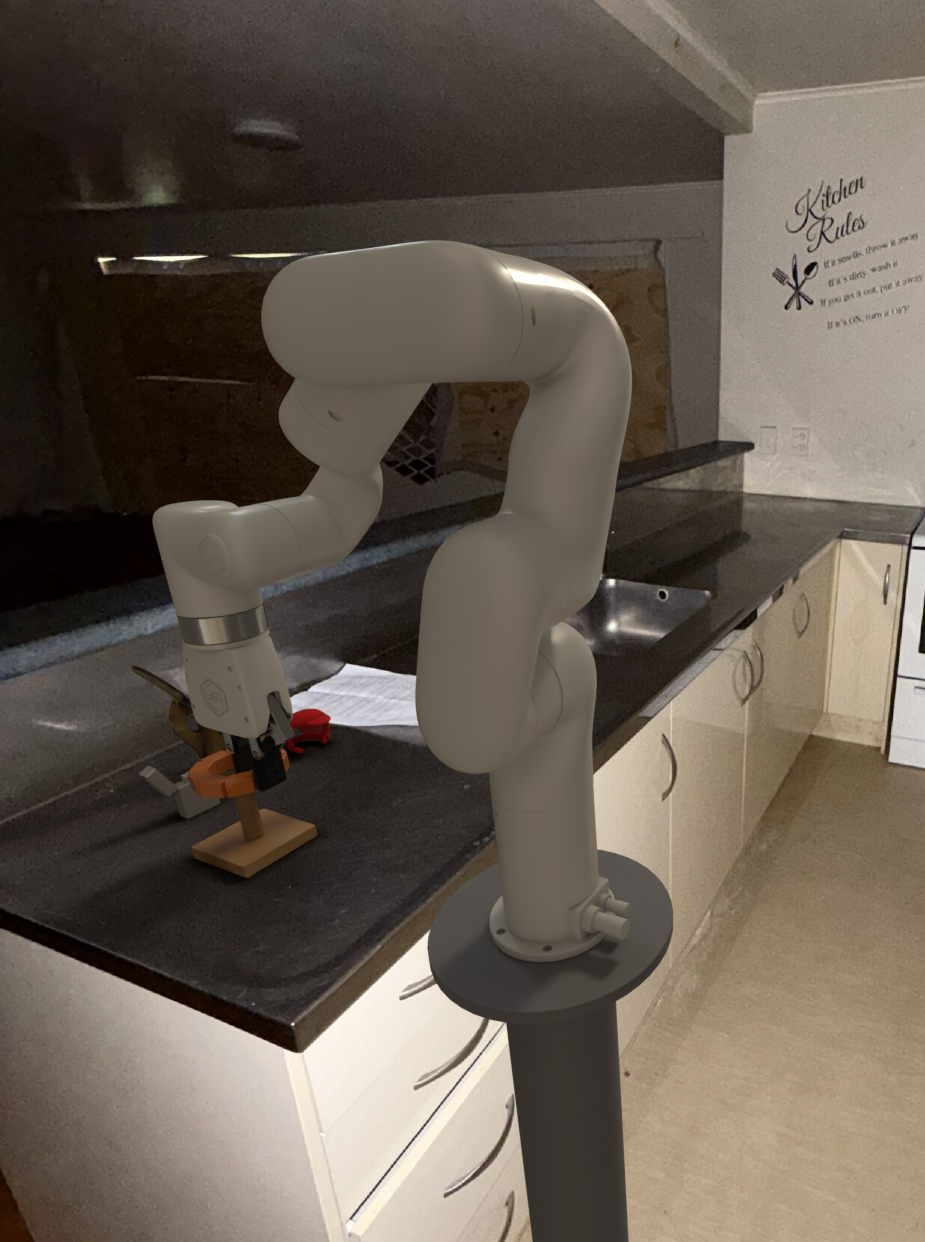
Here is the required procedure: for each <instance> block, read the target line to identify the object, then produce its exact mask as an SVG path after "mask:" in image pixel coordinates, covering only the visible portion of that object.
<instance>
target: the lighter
mask: <svg viewBox="0 0 925 1242" xmlns="http://www.w3.org/2000/svg"><path fill="white" fill-rule="evenodd" d="M188 772H189V771H187V772H185V773H183V774H181V775H180V778H181V780H180V781H178V782H175V783H173V782H172V781H171V780H169V778H167V776H165V775H164V774H163V773H162V772H160V770H158V769H157V768H155V767H153V766H151V765H147V766H145V767H144V769H142V770H141V771H140V772H139V773H138V776H140V777H141V778H142V780H144V781H146V783H148V784H149V785H150V786H151V787H153V788H154V789H155V790H156V791H158V792H159V793H160V794H161V795H163V796H166V797H167V798H170V797H171V796H172V795H173V794H174V799H175V802H176V805H177V808H178V812H179V816H180V817H182V818H184V819H191V818H194V817H195V816H197V815H199V814H201V813H203V812H206V811H207V810H210V809H212V808H214V807H216V806H219V805H220V804H221V800H220V799H221V798H207V797H202V796H198V795H197V794H196V793H195V792H194V791H193V790H192V788H191V785H190V782H189V778H188Z"/></svg>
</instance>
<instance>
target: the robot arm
mask: <svg viewBox="0 0 925 1242" xmlns="http://www.w3.org/2000/svg"><path fill="white" fill-rule="evenodd" d="M260 312H261V313H260V314H261V317H260V318H261V319H260V320H261V321H260V323H261V329H262V335H263V339H264V341H265V343H266V346H267V348H268V351H269V352H270V354H271V357H272V358H273V359H274V360H275V362H276V363H277V364H278V365H279V366H280V367H281V368H282V370H284V371H285V372H286V373H288V374H289V375H290V376H292V377H293V378H294V381H293V383H292V384H291V386H290V388H289V390H288V391H287V393H286V395H285V396H284V398H283V400H281V401H282V402H281V403H280V406H279V409H278V422H279V426H280V428H281V430H282V432H283V435H284V436H285V437H286V440H288V442H289V443H290V444H291V445H292V446H293V447H294V448H295V449H296V450H297V451H298V452H299V453H301V454H302V455H303V456H304V457H305V458H307V459H308V460H309V461H311V462H312V463H314V464H316V465H317V466H318V467H319V468H318V470H317V471H316V473H315V474H314V476H313V478H312V480H311V481H310V483H309V484H308V486H307V487H306V489H305V490H304V491H303V492H302V493H301V494H300V495H298V496H293V497H286V498H281V499H280V498H279V499H275V500H269V501H264V502H259V503H253V504H251V505H250V504H249V505H244V506H237V504H234V503H233V502H230V501H226V500H216V499H215V500H213V499H212V500H211V499H209V500H207V499H205V500H191V501H182V502H176V503H170V504H166V505H164V506H161V507H159V508H158V509H157V510H155V511H154V513H153V515H152V527H153V532H154V536H155V539H156V544H157V547H158V551H159V554H160V558H161V562H162V566H163V570H164V573H165V577H166V581H167V585H168V589H169V592H170V595H171V600H172V604H173V607H174V610H175V611H174V612H175V615H176V618H177V622H178V626H179V630H180V633H181V637H182V649H181V651H182V662H183V671H184V676H185V681H186V687H187V692H188V696H189V697H190V702H191V706H192V710H193V713H192V715H193V714H194V717H195V720H194V721H195V722H196V723H197V722H198V723H199V724H200V725H202V726H204V727H207V728H210V729H213V730H217V731H219V733H220V734H221V735H222V736H223V737H224V741H225V746H226V748H227V750H228V751H229V752H234V753H232V754H231V757H232V760H233V764H234V768H235V772H236V774H238V773H243V772H247V771H250V770H252V772H253V776H254V780H255V784H256V788H257V789H256V791H257V792H261V793H264V792H266V791H268V790H270V789H272V788H274V787H276V786H278V785H280V784H281V783H284V782H285V781H286V780H287V778H288V777H287V772H285V767H284V763H283V759H282V754H281V749H284V743H285V744H286V742H287V741H289V740H291V739H293V738H295V737H296V734H295V732H294V729H293V730H292V728H291V726H290V724H289V723H290V722H291V721H292V718H293V713H294V712H293V711H294V710H293V705H292V700H291V696H290V691H289V688H288V684H287V680H286V677H285V674H284V670H283V667H282V664H281V661H280V658H279V655H278V653H277V650H276V647H275V645H274V642H273V640H272V638H271V636H270V634H271V631H270V625H269V621H268V617H267V613H266V608H265V604H264V599H263V595H262V588H267V587H270V586H273V585H276V584H279V583H280V584H281V583H284V582H286V581H289V580H291V579H292V580H293V579H295V578H299V577H302V576H305V575H308V574H312V573H315V572H319V571H322V570H325V569H329V568H331V567H333V566H335V565H337V564H338V563H341V562H342V561H343V560H344V559H346V558H347V557H348V556H349V555H350V554H351V553H352V552H353V551H354V549H356V547H357V546H358V545H359V543H360V542H361V540H362V539H363V537H365V535H366V533H367V532H368V531H369V529H370V527H371V526H372V525H373V523H374V522H375V520H376V518H377V517H378V514H379V512H380V510H381V507H382V503H383V495H384V494H383V493H384V492H383V491H384V490H383V489H384V481H383V480H384V478H383V472H382V468H381V464H380V463H381V461H382V460H383V458H384V456H385V455H386V453H387V452H388V451H389V449H390V447H391V446H392V444H393V443H394V441H395V440H396V438H397V437H398V436H399V433H400V432H401V430H402V429H403V428H404V426H405V424H406V423H407V421H409V418H410V417H411V416H412V415H413V413H414V412H415V409H416V408H418V405H419V404H420V402H421V401H422V400H423V397H424V396H425V395H426V394H427V392H428V391H429V389H430V387H431V386H432V384H438V383H439V384H440V383H441V384H442V383H482V382H483V383H484V382H485V383H486V382H487V383H489V382H490V383H491V382H497V383H499V382H524V383H525V384H526V385H527V386H528V389H529V394H528V399H527V403H526V405H525V406H524V409H523V411H522V413H521V416H520V418H519V420H518V423H517V424H516V427H515V429H514V432H513V436H512V439H511V443H510V447H509V451H508V462H507V463H508V465H507V474H506V481H505V486H504V487H505V488H504V494H503V498H502V502H501V504H500V505H501V506H500V509H499V511H498V512H497V513H496V514H495V515H494V516H492V517H489V518H486V519H482V520H479V521H476V522H473V523H470V524H469V525H466V526H464V527H462V528H459V529H458V530H457V531H455V532H453V533H452V534H451V535H449V536H448V537H447V538H446V539H444V542H442V543H441V545H440V546H439V547H438V549H437V550H436V551H435V553H434V554H433V557H432V559H431V561H430V563H429V566H428V568H427V571H426V573H425V577H424V581H423V586H422V595H421V603H420V604H421V606H420V620H419V632H418V645H417V646H418V647H417V659H416V660H417V661H416V675H415V688H414V689H415V690H414V691H415V693H414V695H415V696H414V704H415V714H416V721H417V724H418V727H419V731H420V733H421V736H422V738H423V741H424V742H425V744H426V746H427V748H428V749H429V750H430V752H431V753H432V755H433V756H435V757H436V758H437V760H439V761H440V762H441V763H442V764H443V765H445V766H446V767H448V768H450V769H451V770H454V771H456V772H460V773H464V774H467V775H469V774H470V775H482V774H488V778H489V779H488V780H489V788H490V789H489V790H490V799H491V806H492V807H491V808H492V817H493V825H494V835H495V843H496V852H497V861H498V864H499V870H500V879H501V888H502V896H501V897H500V898H499V899H498V900H497V902H496V903H495V905H494V906H493V908H492V910H491V913H490V917H489V928H490V934H491V937H492V940H493V942H494V943H495V944H496V946H497V947H498V948H499V949H500V950H502V951H503V952H504V953H506V954H508V955H510V956H512V957H514V958H517V959H520V960H524V961H531V962H552V961H558V960H564V959H567V958H570V957H573V956H576V955H578V954H581V953H583V952H585V951H587V950H589V949H590V948H592V947H593V946H595V945H596V944H598V943H599V942H600V941H601V940H602V939H603V938H604V937H605V936H606V935H608V936H611V937H614V938H617V939H620V940H624V939H625V938H626V937H627V935H628V933H629V929H630V921H629V920H628V919H624V918H621V917H618V916H616V914H617V915H620V916H623V917H627V916H628V915H629V914H630V911H631V904H629V903H626V902H623V901H620V900H615V898H614V895H613V893H612V892H611V890H610V889H609V884H608V879H606V878H603V877H600V876H599V871H598V854H597V849H598V838H597V823H596V805H595V790H594V783H595V782H594V763H593V728H594V717H595V710H596V709H595V708H596V700H597V685H598V683H597V681H598V677H597V667H596V661H595V658H594V657H595V656H594V655H593V652H592V650H591V647H590V645H589V644H588V642H587V640H586V639H585V637H583V635H582V634H581V633H580V632H579V631H578V630H577V629H576V628H575V627H573V626H571V624H568V623H567V622H565V620H567V619H569V618H570V617H572V616H573V615H574V614H576V613H578V612H579V611H581V609H583V608H584V607H585V606H586V605H588V603H589V602H590V601H591V600H592V599H593V598H594V596H595V595H596V592H597V590H598V588H599V586H600V582H601V578H602V572H603V567H604V562H605V561H604V560H605V554H606V547H607V542H608V537H609V531H610V525H611V519H612V515H613V514H612V513H613V509H614V502H615V496H616V487H617V480H618V473H619V467H620V462H621V456H622V451H623V446H624V441H625V437H626V431H627V427H628V421H629V416H630V410H631V403H632V391H633V372H632V362H631V356H630V353H629V347H628V345H627V342H626V339H625V337H624V334H623V332H622V329H621V326H620V325H619V324H618V322H617V319H616V318H615V316H614V315H613V314H612V312H611V310H610V309H609V308H608V307H607V305H606V304H605V303H604V302H603V301H602V299H601V298H600V297H599V296H598V295H597V294H596V293H595V292H594V291H592V290H591V289H590V288H589V287H588V286H586V285H585V284H584V283H583V282H581V281H580V280H578V279H577V278H576V277H574V276H572V275H570V274H568V273H567V272H565V271H563V270H561V269H559V268H556V267H555V266H552V265H549V264H546V263H543V262H540V261H537V260H533V259H531V258H527V257H522V256H519V255H515V254H509V253H505V252H500V251H497V250H492V249H489V248H486V247H482V246H478V245H474V244H471V243H470V244H469V243H464V242H460V241H456V240H455V241H453V240H439V239H437V240H420V241H410V242H403V243H397V244H390V245H381V246H375V247H367V248H361V249H353V250H344V251H336V252H329V253H322V254H321V253H320V254H314V255H310V256H304V257H302V258H299V259H297V260H294V261H292V262H290V263H289V264H287V265H286V266H284V267H283V268H282V269H281V270H279V271H278V273H277V274H276V275H275V276H274V277H273V279H272V280H271V282H270V283H269V285H268V287H267V289H266V291H265V294H264V296H263V299H262V306H261V311H260ZM267 734H268V736H266V735H267ZM263 735H264V737H265V738H264V739H263V741H262V742H261V739H260V736H263Z"/></svg>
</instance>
